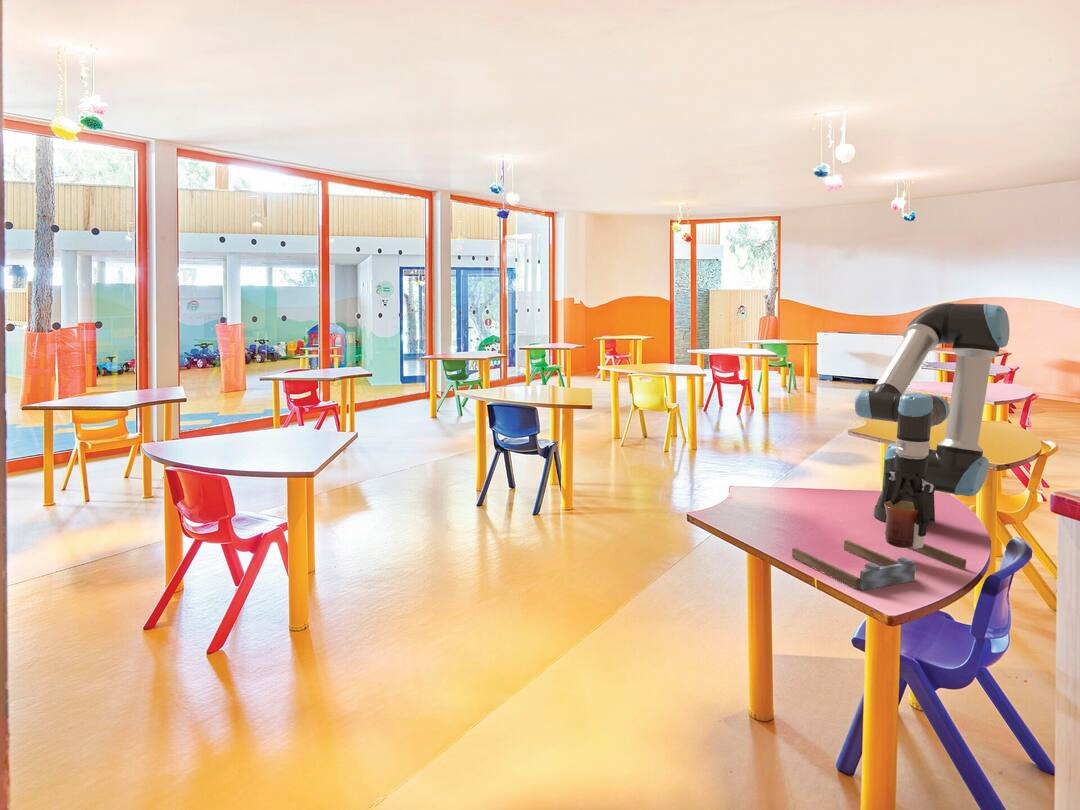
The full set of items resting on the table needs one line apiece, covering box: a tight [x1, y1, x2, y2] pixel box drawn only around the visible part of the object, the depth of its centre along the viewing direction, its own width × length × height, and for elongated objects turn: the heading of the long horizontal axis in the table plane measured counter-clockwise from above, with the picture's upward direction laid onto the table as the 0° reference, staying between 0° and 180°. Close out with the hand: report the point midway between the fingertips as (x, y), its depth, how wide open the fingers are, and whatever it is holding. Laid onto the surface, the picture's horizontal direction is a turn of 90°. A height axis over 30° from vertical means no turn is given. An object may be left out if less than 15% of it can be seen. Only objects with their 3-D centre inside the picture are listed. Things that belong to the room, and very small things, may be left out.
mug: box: [884, 501, 932, 549], centre depth 199 cm, size 12×9×10 cm
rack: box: [791, 539, 967, 591], centre depth 196 cm, size 35×24×6 cm
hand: (904, 542), depth 200 cm, fingers closed on mug, 7 cm apart
